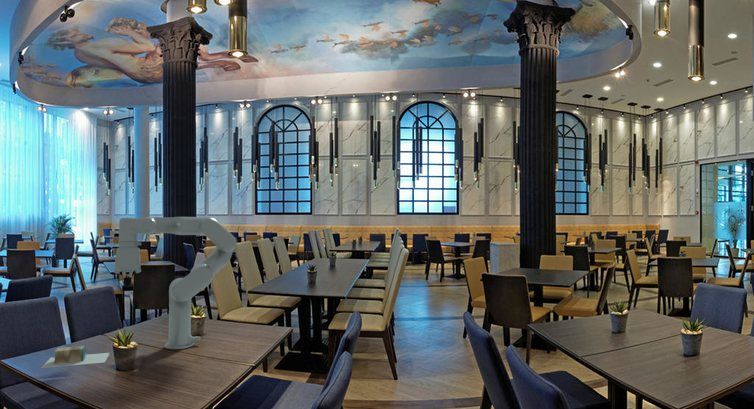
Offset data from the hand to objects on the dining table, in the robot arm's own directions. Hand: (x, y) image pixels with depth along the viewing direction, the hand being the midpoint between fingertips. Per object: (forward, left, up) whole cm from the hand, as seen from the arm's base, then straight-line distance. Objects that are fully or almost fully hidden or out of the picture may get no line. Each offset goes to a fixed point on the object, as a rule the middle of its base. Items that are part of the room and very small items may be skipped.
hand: (127, 286), depth 215 cm
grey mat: (+17, +10, -29) cm, 35 cm away
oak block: (+14, +10, -26) cm, 31 cm away
